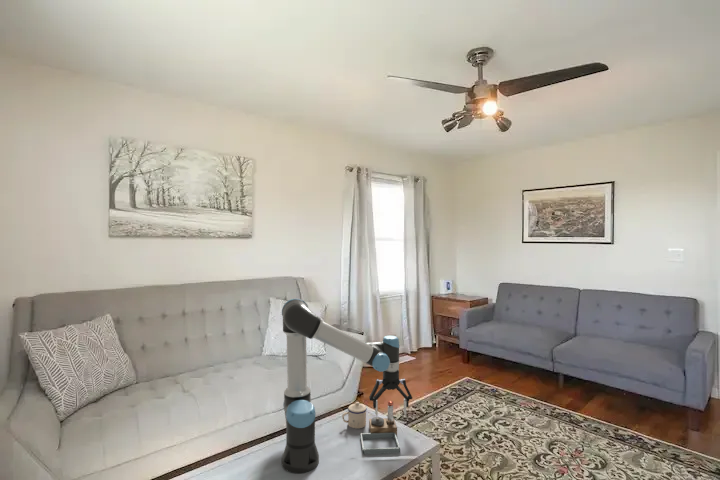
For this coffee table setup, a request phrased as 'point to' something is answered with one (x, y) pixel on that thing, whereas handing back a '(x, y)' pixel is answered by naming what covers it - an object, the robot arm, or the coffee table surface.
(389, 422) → the pin
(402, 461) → the coffee table surface
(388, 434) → the tray
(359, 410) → the teacup with lid
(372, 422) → the tan wooden block
